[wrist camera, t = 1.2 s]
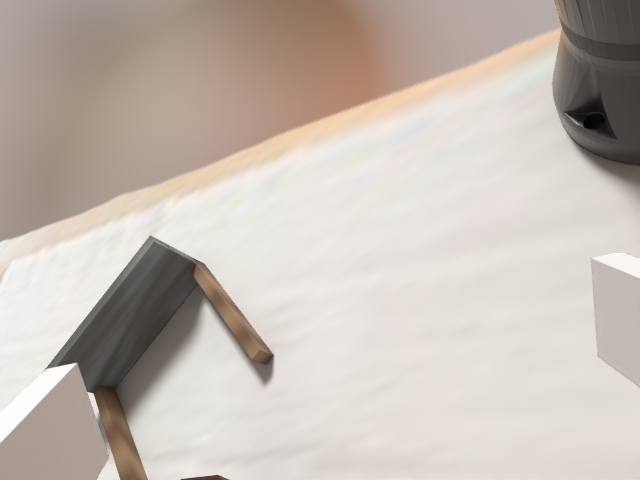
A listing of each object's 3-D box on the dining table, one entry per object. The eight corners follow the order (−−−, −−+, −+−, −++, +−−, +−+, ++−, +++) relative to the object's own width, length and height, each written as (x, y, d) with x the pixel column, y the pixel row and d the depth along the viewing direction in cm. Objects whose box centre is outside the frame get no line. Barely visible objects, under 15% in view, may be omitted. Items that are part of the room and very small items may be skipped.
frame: (273, 354, 45) (212, 330, 39) (148, 511, 46) (69, 510, 40) (204, 263, 57) (150, 235, 51) (105, 388, 58) (41, 374, 52)
